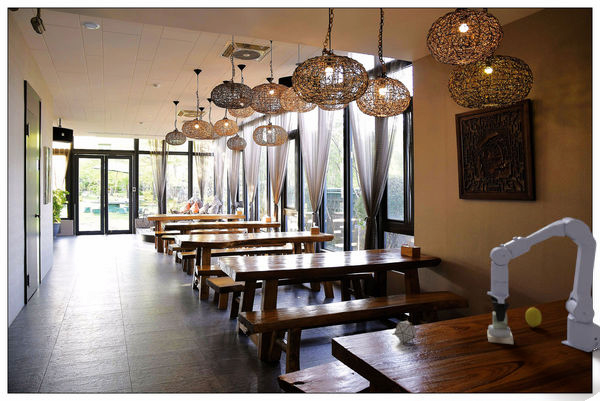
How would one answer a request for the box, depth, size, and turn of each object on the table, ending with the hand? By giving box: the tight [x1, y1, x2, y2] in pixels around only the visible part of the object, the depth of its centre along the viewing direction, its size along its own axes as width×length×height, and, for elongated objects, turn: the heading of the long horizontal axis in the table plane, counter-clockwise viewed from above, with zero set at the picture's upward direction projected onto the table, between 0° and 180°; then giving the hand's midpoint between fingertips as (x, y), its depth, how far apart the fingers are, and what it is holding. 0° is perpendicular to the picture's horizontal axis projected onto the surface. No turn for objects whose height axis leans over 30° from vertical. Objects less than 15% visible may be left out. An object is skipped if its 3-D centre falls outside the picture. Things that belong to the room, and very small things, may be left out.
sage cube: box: [492, 310, 508, 329], centre depth 161 cm, size 4×4×5 cm
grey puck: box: [487, 324, 511, 338], centre depth 161 cm, size 7×7×2 cm
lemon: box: [525, 306, 542, 328], centre depth 173 cm, size 6×6×8 cm
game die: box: [391, 318, 419, 346], centre depth 159 cm, size 9×8×10 cm
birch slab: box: [486, 329, 514, 345], centre depth 161 cm, size 8×8×2 cm
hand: (499, 318), depth 161 cm, fingers open, 7 cm apart
